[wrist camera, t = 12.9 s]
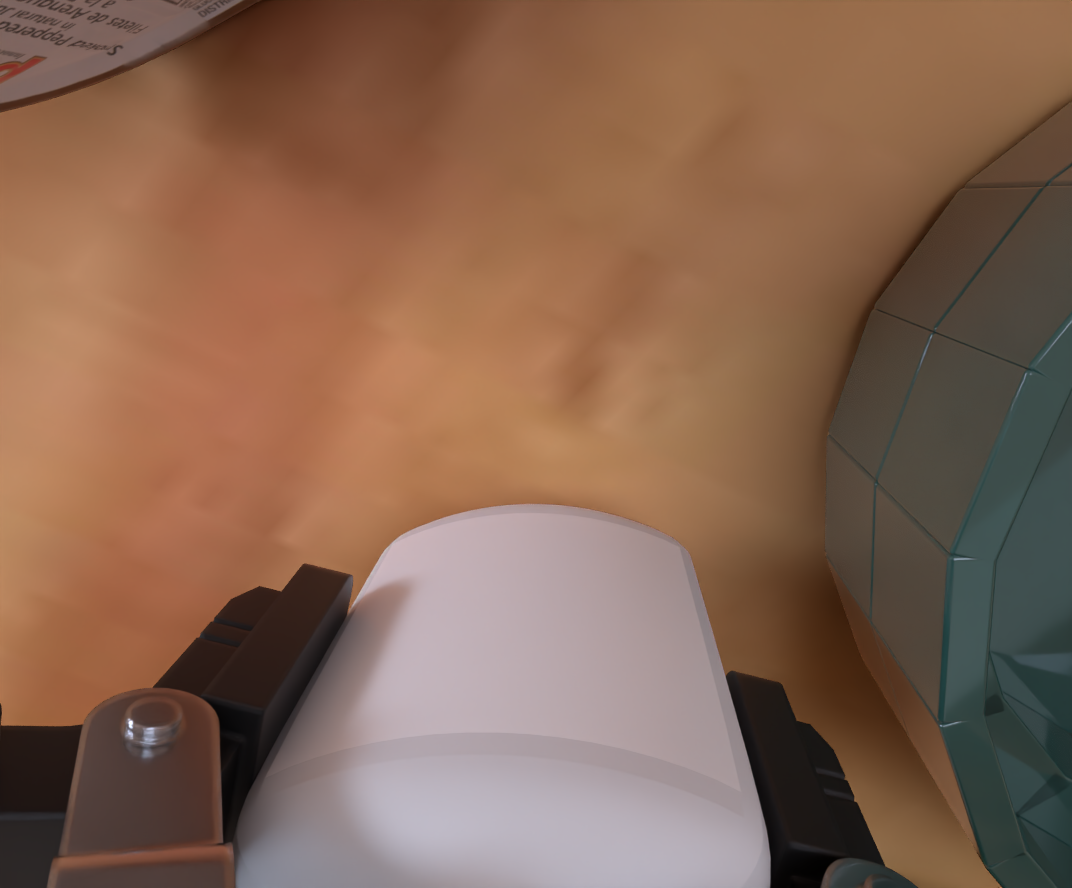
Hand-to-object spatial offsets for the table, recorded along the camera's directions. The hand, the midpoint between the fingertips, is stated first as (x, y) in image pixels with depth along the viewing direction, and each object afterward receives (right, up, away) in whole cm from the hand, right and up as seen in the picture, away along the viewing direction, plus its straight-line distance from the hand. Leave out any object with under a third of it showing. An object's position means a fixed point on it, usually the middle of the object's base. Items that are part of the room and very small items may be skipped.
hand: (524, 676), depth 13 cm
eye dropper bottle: (0, +1, +3) cm, 3 cm away
